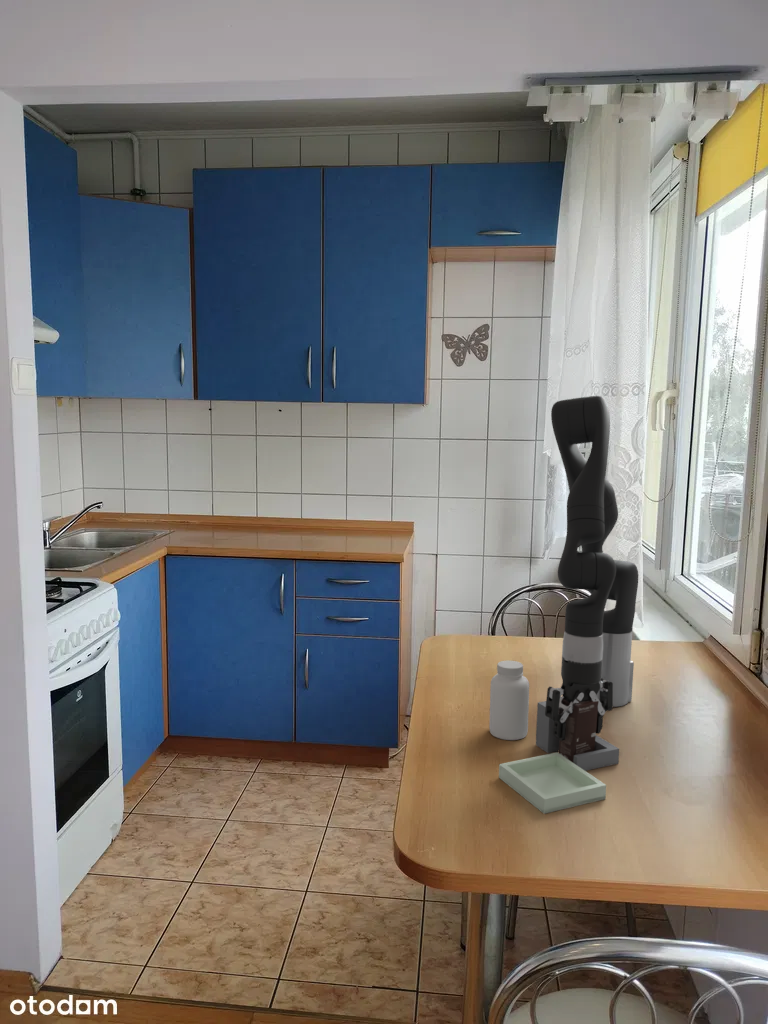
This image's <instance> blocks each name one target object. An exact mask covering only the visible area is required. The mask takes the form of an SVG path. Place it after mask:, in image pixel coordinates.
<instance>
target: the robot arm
mask: <svg viewBox="0 0 768 1024" xmlns="http://www.w3.org/2000/svg"><path fill="white" fill-rule="evenodd" d="M550 413H551V415H550V416H551V418H550V419H551V425H552V430H553V431H552V432H553V433H554V438H555V441H556V446H557V448H558V450H559V453H560V457H561V461H562V464H563V468H564V471H565V475H566V476H565V477H566V480H567V485H568V490H569V492H568V495H567V500H566V537H565V543H564V546H563V550H562V553H561V557H560V560H559V562H558V567H557V577H558V581H559V583H560V584H561V585H562V586H563V588H565V589H569V590H586V591H588V592H589V593H590V595H588V596H587V597H585V598H580V599H574V600H571V601H569V602H568V603H566V607H565V612H564V613H565V614H564V615H565V617H564V633H563V638H562V650H561V651H562V652H561V667H560V675H561V678H562V684H561V686H560V687H553V686H548V687H547V691H546V699H545V701H546V709H545V716H547V717H548V718H550V719H552V720H553V721H554V736H555V737H556V738H557V739H559V740H560V741H563V740H565V731H566V722H565V720H566V719H567V717H568V715H569V714H571V713H573V711H574V705H575V704H578V703H579V702H584V701H593V702H595V701H599V702H598V714H597V725H596V735H598V734H600V733H601V731H602V729H603V723H604V715H605V713H606V712H607V711H609V712H611V711H612V710H613V708H615V707H623V706H625V705H627V704H628V703H629V702H632V701H633V700H632V697H633V683H634V668H635V667H634V665H635V663H634V661H633V660H632V659H631V658H632V645H633V644H632V643H633V642H632V641H633V640H632V639H633V627H634V619H635V614H636V613H635V612H636V604H637V603H636V602H637V593H638V587H639V570H638V566H637V565H636V564H635V563H633V562H631V561H625V560H619V559H614V558H613V557H612V556H611V555H610V554H608V553H606V552H604V551H603V547H604V543H605V542H606V540H607V538H608V537H609V535H610V534H611V532H612V531H613V529H614V528H615V525H616V524H617V521H618V518H619V509H618V504H617V497H616V492H615V490H614V487H613V485H612V484H611V482H610V481H609V479H607V478H606V476H607V468H608V467H607V466H608V458H609V456H608V455H609V447H610V436H611V435H610V434H611V418H610V410H609V406H608V403H607V400H606V399H605V398H604V397H603V396H602V395H590V396H583V397H575V398H569V399H568V398H567V399H562V400H557V401H556V402H555V403H553V405H552V406H551V411H550ZM587 443H588V444H589V443H591V447H590V452H589V456H588V459H586V457H585V456H584V455H583V453H582V452H581V450H580V448H579V446H578V445H580V444H581V445H582V444H587ZM580 547H581V551H578V549H579V548H580ZM608 600H609V601H610V600H611V601H615V606H614V608H612V609H609V610H605V609H606V605H607V601H608ZM563 699H565V700H566V701H568V702H569V703H570V705H569V706H565V705H564V704H563ZM563 710H564V711H563ZM562 711H563V713H562ZM561 713H562V714H561ZM560 714H561V715H560Z"/></svg>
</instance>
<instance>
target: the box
mask: <svg viewBox="0 0 768 1024" xmlns="http://www.w3.org/2000/svg"><path fill="white" fill-rule="evenodd" d="M598 702H599V701H595V702H593V701H584V702H579V703H578V704H575V705H574V711H573V713H571V714H569V715H568V717H567V719H566V720H565V722H566V731H565V740H563V741H560V740H559V751H557V752H558V753H559V754H561V755H562V756H564V757H565V758H567V759H568V760H570V761H571V762H573V760H574V755H578V754H583V753H588V752H593V751H594V749H595V737H596V735H597V734H596V725H597V714H598ZM563 704H564V705H565V706H569V705H570V703H569V702H568V701H566V700H565V699H563ZM563 711H564V710H563ZM563 711H562V713H563Z"/></svg>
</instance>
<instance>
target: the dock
mask: <svg viewBox="0 0 768 1024" xmlns="http://www.w3.org/2000/svg"><path fill="white" fill-rule="evenodd" d="M536 707H537V708H536V709H537V710H536V713H537V714H536V728H535V732H536V733H535V745H536V747H538V748H540V749H541V750H542V751H544V752H546V754H551V753H556V752H559V739H557V738H556V737H555V736H554V721H553V720H552V719H550V718H548V717H547V716H545V709H546V700H544V701H539V702H538V701H537V706H536ZM561 714H562V713H561ZM561 714H560V715H561ZM619 757H620V748H619V747H618V746H615V744H612V743H610V742H608V740H606V739H603V738H602V737H600V736H599V735H598V734H596V737H595V749H594V751H593V752H588V753H583V754H578V755H574V760H573V763H574V764H576V765H577V766H579V767H580V768H582V769H583V770H585V771H586V772H587V771H591V770H595V769H600V768H605V767H608V766H614V765H617V764H618V765H619V760H620V759H619Z"/></svg>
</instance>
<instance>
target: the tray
mask: <svg viewBox="0 0 768 1024" xmlns="http://www.w3.org/2000/svg"><path fill="white" fill-rule="evenodd" d="M558 752H559V751H555V752H550V753H546V754H543V755H537V756H533V757H527V758H524V759H519V760H518V759H517V760H513V761H508V762H503V763H499V765H498V778H499V779H500V780H501V781H503V782H504V783H505V784H506V785H508V786H509V787H510V788H511V789H512V790H514V791H515V792H516V793H517V794H519V796H521V797H522V798H524V799H525V801H528V803H530V804H531V805H532V806H533V807H535V808H536V809H537V810H538V811H540V812H541V813H543V815H545V814H550V813H552V812H553V813H554V812H557V811H562V810H566V809H571V808H573V807H578V806H582V805H587V804H590V803H595V802H598V801H599V802H600V801H602V800H606V795H607V794H606V793H607V784H606V783H604V782H602V781H601V780H600V779H598V778H596V777H595V776H594V775H592V774H591V773H589V772H587V771H585V770H583V769H582V768H580V767H579V766H577V765H576V764H574V763H573V762H571V761H570V760H568V759H567V758H565V757H564V756H562V755H561V754H559V753H558Z"/></svg>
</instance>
